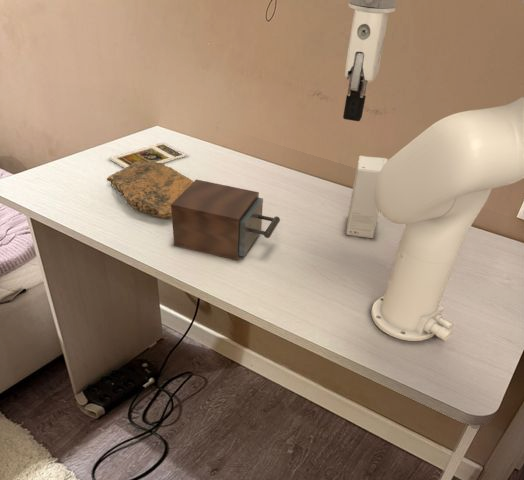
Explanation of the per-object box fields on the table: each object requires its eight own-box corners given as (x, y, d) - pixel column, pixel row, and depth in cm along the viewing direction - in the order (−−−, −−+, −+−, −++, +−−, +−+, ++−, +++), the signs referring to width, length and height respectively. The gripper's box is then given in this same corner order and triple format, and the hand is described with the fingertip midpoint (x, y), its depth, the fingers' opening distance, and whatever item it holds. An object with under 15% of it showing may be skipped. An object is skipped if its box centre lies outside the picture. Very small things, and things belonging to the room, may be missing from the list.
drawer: (281, 235, 109) (284, 202, 103) (265, 261, 101) (267, 228, 95) (205, 218, 112) (204, 186, 107) (184, 242, 104) (182, 209, 99)
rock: (216, 183, 120) (165, 214, 106) (215, 203, 124) (165, 235, 110) (136, 150, 127) (78, 175, 113) (137, 170, 130) (81, 197, 117)
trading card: (109, 157, 133) (163, 142, 143) (109, 159, 134) (163, 144, 143) (131, 170, 128) (185, 154, 138) (131, 172, 129) (185, 155, 138)
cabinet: (256, 231, 111) (258, 192, 104) (237, 260, 102) (238, 219, 95) (197, 218, 114) (196, 179, 107) (173, 245, 105) (170, 204, 98)
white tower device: (372, 239, 111) (388, 173, 100) (343, 235, 112) (356, 168, 101) (374, 221, 117) (389, 157, 106) (346, 217, 118) (359, 153, 107)
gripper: (391, 7, 71) (366, 136, 84) (402, -7, 81) (377, 109, 94) (341, 1, 72) (323, 128, 85) (357, -12, 83) (339, 103, 96)
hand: (352, 118), depth 90 cm, fingers closed
